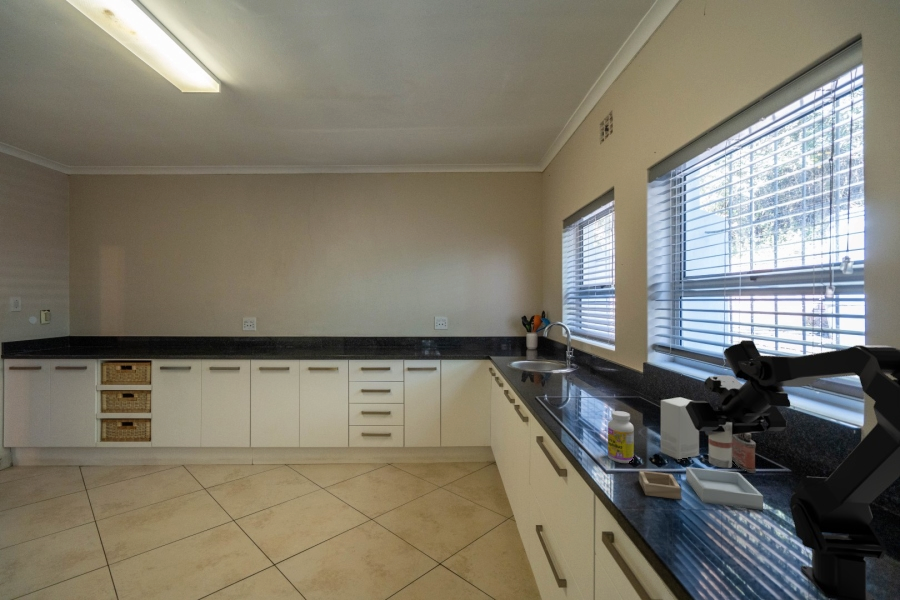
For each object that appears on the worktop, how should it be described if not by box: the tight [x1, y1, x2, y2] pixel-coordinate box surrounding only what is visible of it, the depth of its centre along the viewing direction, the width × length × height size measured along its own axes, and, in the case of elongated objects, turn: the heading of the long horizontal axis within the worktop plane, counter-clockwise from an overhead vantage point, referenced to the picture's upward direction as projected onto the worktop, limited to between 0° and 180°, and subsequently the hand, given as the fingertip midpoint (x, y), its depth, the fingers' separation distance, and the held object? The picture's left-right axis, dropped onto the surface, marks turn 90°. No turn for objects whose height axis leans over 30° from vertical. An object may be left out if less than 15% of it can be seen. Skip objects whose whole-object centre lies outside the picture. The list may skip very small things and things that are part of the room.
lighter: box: [732, 433, 757, 474], centre depth 102 cm, size 8×3×10 cm, turn 168°
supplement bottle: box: [607, 410, 635, 464], centre depth 106 cm, size 7×7×13 cm
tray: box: [685, 466, 764, 511], centre depth 87 cm, size 11×11×3 cm
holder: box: [638, 469, 682, 500], centre depth 89 cm, size 7×7×2 cm
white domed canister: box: [708, 423, 733, 469], centre depth 87 cm, size 4×4×10 cm
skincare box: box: [660, 396, 700, 460], centre depth 109 cm, size 8×7×16 cm
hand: (716, 433), depth 89 cm, fingers closed on white domed canister, 4 cm apart
